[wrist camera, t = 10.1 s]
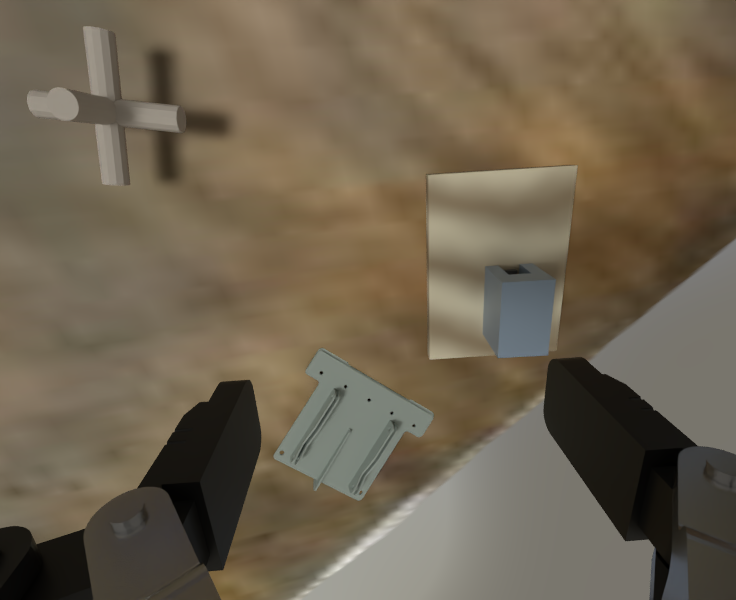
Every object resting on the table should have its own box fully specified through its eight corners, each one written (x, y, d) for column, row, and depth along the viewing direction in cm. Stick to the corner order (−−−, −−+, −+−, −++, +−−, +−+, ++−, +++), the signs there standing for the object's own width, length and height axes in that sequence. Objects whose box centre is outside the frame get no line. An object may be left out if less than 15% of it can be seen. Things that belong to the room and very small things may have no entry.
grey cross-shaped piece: (89, 173, 35) (-7, 182, 26) (72, 40, 32) (-47, -6, 22) (207, 185, 36) (155, 197, 26) (202, 56, 32) (141, 17, 23)
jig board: (425, 174, 36) (433, 176, 32) (570, 164, 36) (593, 166, 33) (427, 354, 42) (434, 372, 39) (550, 345, 42) (568, 362, 39)
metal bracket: (374, 526, 43) (249, 465, 40) (364, 494, 49) (254, 438, 45) (446, 412, 43) (327, 341, 40) (427, 393, 49) (322, 330, 45)
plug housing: (485, 266, 38) (502, 282, 33) (532, 263, 38) (556, 279, 33) (482, 333, 40) (497, 358, 36) (526, 331, 40) (548, 355, 36)
